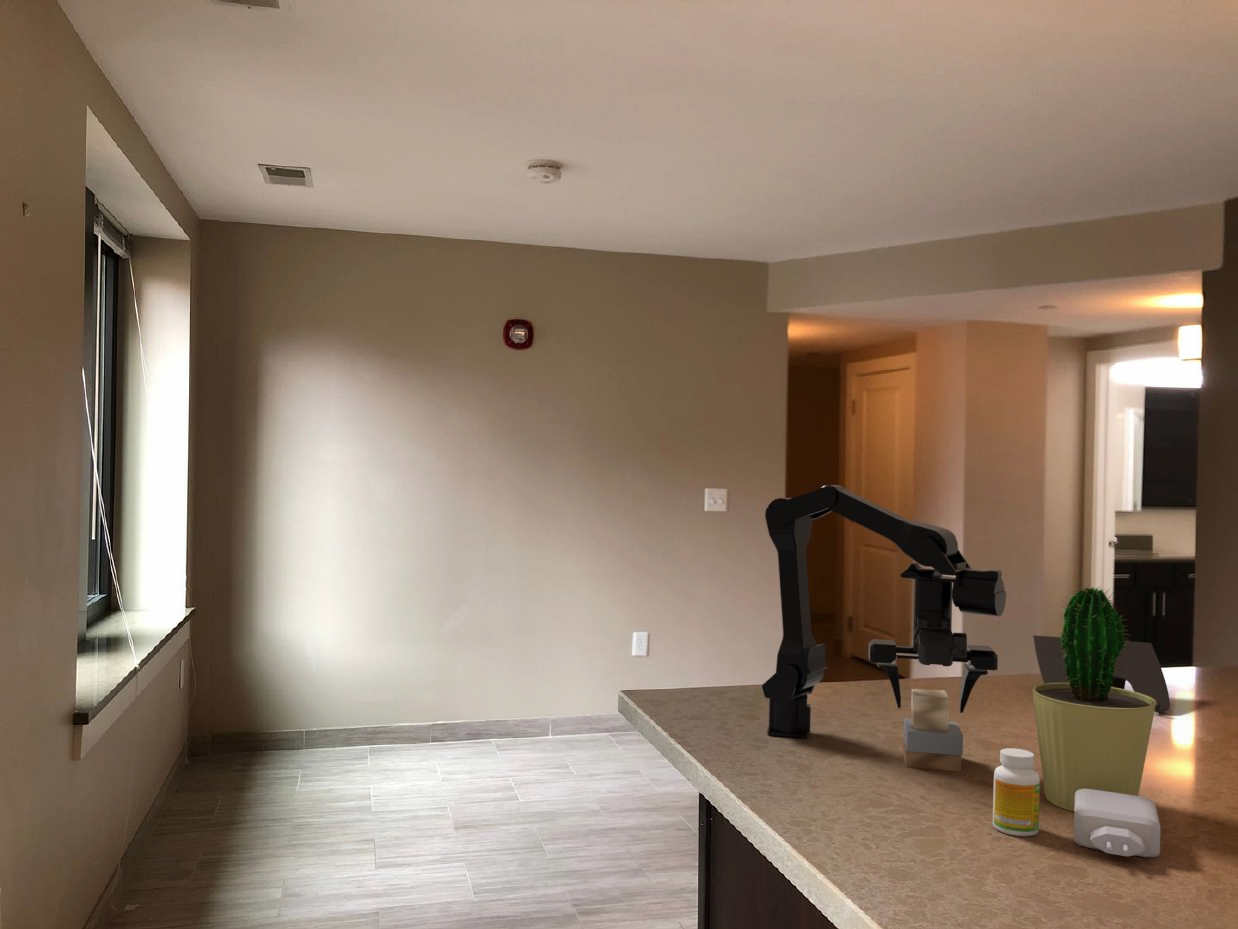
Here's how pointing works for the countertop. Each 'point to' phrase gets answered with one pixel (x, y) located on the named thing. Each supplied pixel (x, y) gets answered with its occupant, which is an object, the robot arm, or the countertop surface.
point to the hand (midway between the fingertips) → (929, 710)
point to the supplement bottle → (1016, 794)
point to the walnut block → (931, 760)
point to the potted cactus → (1091, 709)
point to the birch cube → (930, 709)
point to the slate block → (933, 739)
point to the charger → (1116, 823)
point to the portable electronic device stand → (1136, 669)
